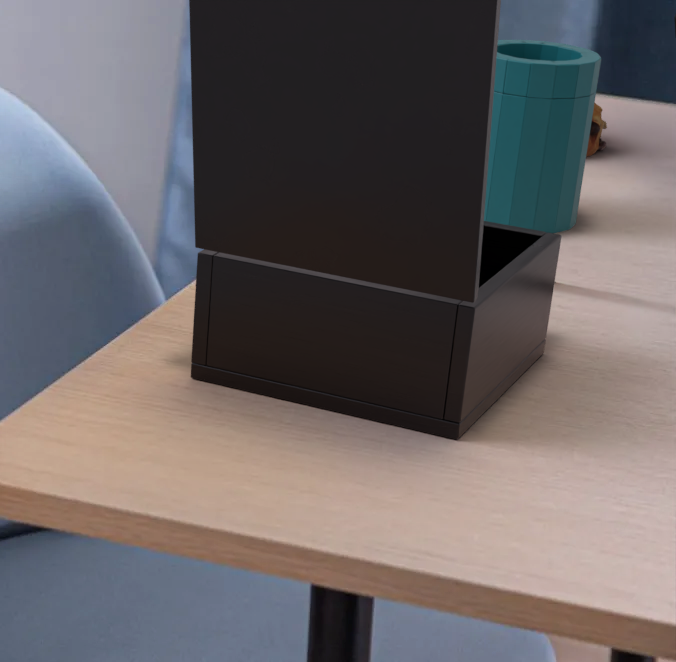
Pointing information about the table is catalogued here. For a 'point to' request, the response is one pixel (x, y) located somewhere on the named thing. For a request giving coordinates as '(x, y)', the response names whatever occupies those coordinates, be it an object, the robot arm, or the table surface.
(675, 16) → the robot arm
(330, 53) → the chest lid
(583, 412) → the table surface
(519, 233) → the chest
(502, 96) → the crock
